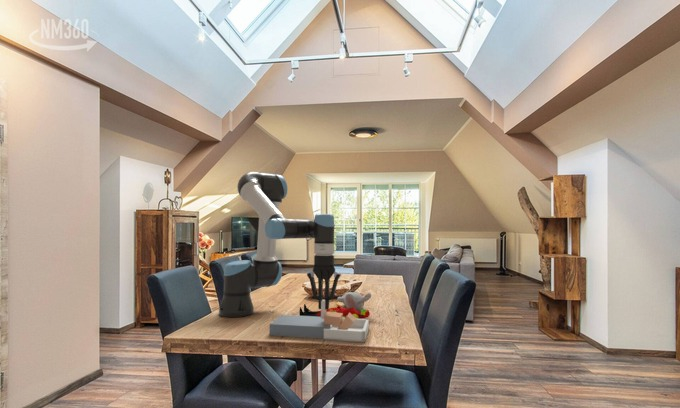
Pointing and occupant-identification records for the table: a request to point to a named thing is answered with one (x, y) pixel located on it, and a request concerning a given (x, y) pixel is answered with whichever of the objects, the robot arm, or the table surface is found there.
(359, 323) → the box
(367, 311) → the figurine
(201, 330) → the table surface
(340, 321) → the tile
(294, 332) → the flat grey box
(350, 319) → the tile
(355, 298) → the toy
